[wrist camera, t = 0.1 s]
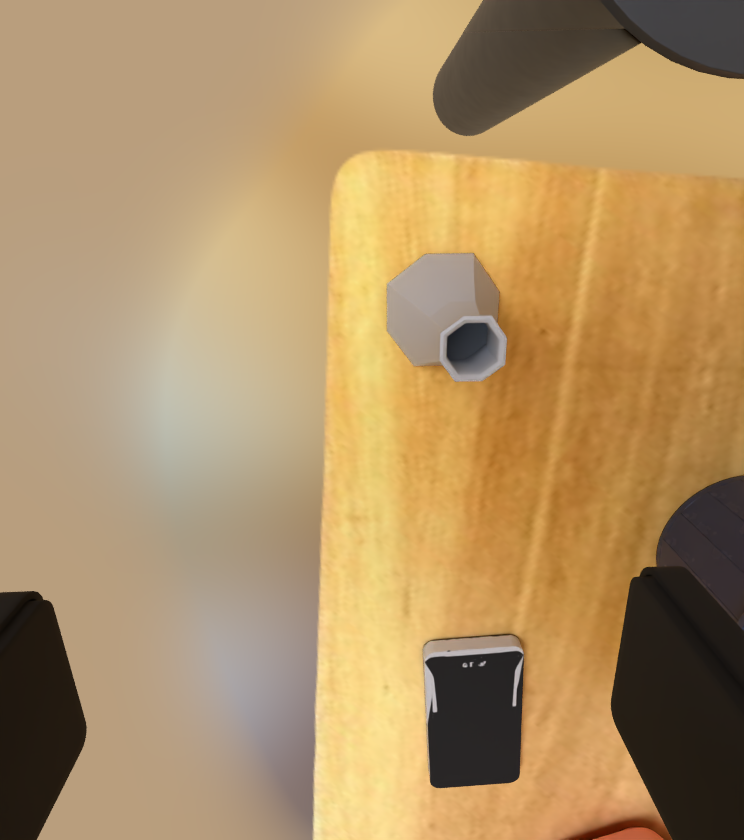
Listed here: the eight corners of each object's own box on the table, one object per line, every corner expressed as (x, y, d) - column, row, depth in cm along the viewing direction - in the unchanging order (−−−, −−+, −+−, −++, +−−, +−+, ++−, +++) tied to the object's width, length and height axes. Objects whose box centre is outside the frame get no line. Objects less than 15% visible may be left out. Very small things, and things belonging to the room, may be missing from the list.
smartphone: (430, 788, 48) (424, 653, 43) (428, 774, 50) (422, 640, 44) (519, 782, 48) (524, 645, 43) (515, 767, 50) (519, 632, 44)
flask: (367, 273, 34) (372, 300, 25) (483, 232, 33) (532, 243, 24) (404, 382, 37) (421, 443, 27) (512, 345, 36) (567, 395, 27)
